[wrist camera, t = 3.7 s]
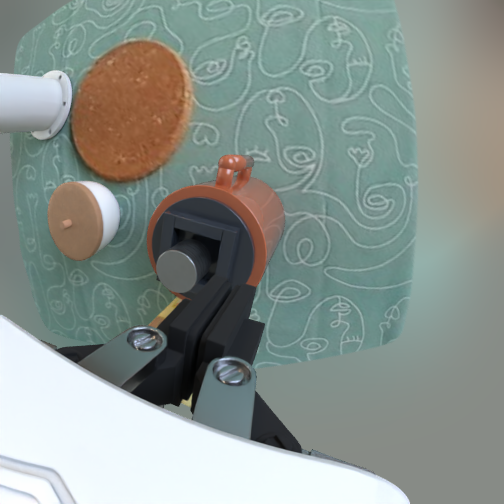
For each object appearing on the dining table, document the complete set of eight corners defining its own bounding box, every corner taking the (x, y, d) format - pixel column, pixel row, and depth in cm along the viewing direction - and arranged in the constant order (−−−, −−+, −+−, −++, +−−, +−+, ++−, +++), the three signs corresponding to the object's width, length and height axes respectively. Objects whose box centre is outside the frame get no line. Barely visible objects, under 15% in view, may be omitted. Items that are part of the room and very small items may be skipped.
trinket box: (104, 257, 44) (65, 278, 35) (72, 203, 43) (30, 215, 34) (145, 220, 40) (103, 238, 32) (108, 161, 39) (63, 166, 30)
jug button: (172, 270, 24) (154, 285, 21) (176, 234, 23) (158, 244, 20) (207, 282, 24) (193, 299, 21) (214, 245, 23) (199, 258, 20)
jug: (193, 248, 40) (131, 295, 26) (212, 146, 35) (147, 143, 21) (272, 271, 38) (244, 336, 25) (300, 166, 34) (286, 172, 20)
